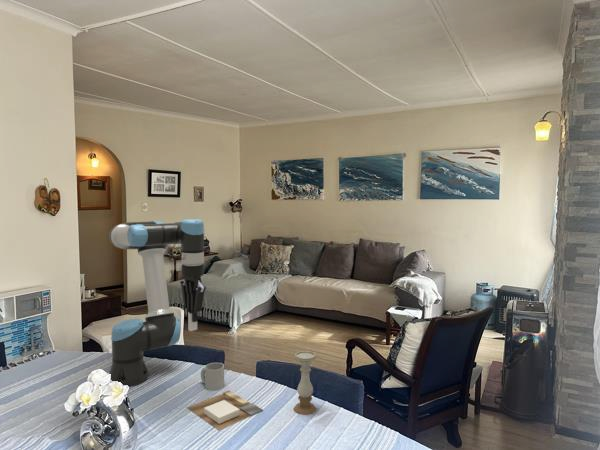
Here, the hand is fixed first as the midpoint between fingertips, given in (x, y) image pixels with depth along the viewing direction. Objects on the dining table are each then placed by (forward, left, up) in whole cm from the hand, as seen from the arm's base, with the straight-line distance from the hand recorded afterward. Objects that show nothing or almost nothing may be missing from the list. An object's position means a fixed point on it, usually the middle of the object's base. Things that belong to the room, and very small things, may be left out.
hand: (192, 329), depth 150 cm
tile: (+11, +2, -25) cm, 27 cm away
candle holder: (+32, +25, -27) cm, 48 cm away
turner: (+13, +11, -26) cm, 31 cm away
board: (+13, +5, -27) cm, 30 cm away
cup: (-6, +12, -27) cm, 30 cm away
